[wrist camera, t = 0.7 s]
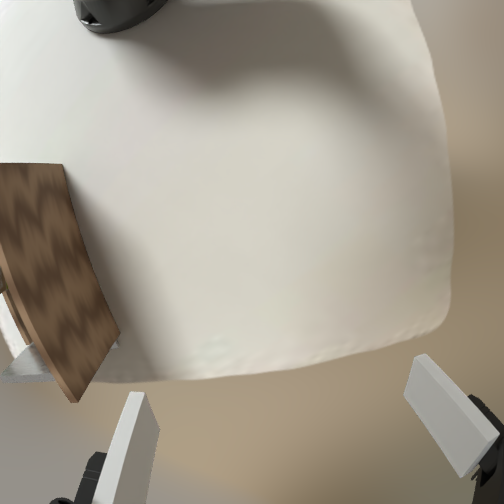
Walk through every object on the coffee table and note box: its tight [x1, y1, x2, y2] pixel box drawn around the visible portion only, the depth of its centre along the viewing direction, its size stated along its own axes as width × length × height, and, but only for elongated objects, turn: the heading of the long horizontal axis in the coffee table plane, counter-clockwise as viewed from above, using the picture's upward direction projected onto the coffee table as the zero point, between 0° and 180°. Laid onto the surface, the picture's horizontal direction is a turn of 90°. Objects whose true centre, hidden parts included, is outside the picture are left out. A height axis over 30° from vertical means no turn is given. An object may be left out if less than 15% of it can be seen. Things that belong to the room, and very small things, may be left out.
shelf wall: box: [0, 163, 120, 403], centre depth 27 cm, size 26×19×16 cm
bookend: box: [0, 340, 119, 383], centre depth 33 cm, size 4×18×12 cm, turn 105°
